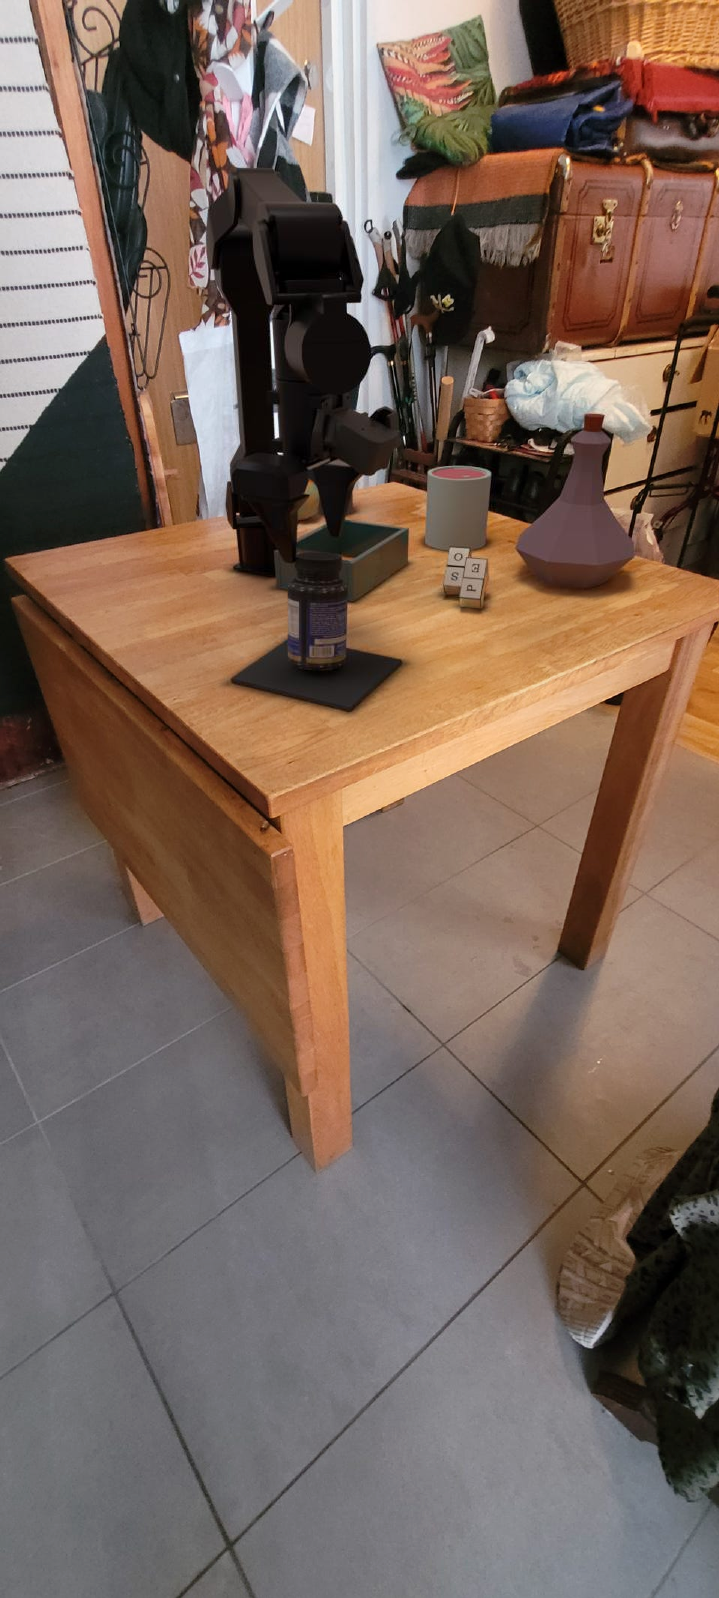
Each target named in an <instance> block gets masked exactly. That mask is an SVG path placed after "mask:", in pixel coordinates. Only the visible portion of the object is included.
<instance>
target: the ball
mask: <svg viewBox="0 0 719 1598" xmlns="http://www.w3.org/2000/svg"><path fill="white" fill-rule="evenodd" d="M303 494H309V495H310V496H309V498H308V499H307V500H306V501H305V503H304V504H303V505H302V506H301V507H300V509H299V510H298V521H304V520H307V519H309V518H311V517H312V516H314V514H315V513H316V512H317V511H318V505H319V499H320V497H319V493H318V489H317V485H316V483H315V481H313V480H312V479H310V478H309V482H308V485H307V488H306V490H305V493H303Z"/></svg>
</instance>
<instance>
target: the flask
mask: <svg viewBox="0 0 719 1598" xmlns="http://www.w3.org/2000/svg"><path fill="white" fill-rule="evenodd" d="M583 415H584V416H583V429H581V431H579V432H578V433H576V434H575V435H573V436H572V437H571V439H570V443H571V447H572V449H573V454H574V455H573V460H572V463H571V467H570V470H569V473H568V475H567V478H566V481H565V483H564V486H563V488H562V490H561V493H560V496H559V497H558V498H557V499H556V500H555V501H554V502H553V503H552V504H551V505H550V506H549V507H548V508H547V509H546V510H545V511H544V513H542V514H541V515H540V516H538V518H536V519H535V521H533V522H532V523H531V524H530V525H529V526H528V527H526V528H525V529H524V530H523V531H522V532H521V533H519V535H518V538H517V540H516V541H517V542H516V544H515V548H514V549H515V551H516V552H517V553H518V555H519V556H520V558H521V559H522V560H523V562H524V563H525V564H526V566H527V567H528V568H529V570H530V571H531V573H532V574H533V575H534V577H535V578H536V580H538V581H540V582H543V583H545V584H548V585H550V586H551V587H555V588H564V589H565V588H566V589H577V590H578V589H580V590H583V589H588V588H592V587H596V586H600V585H603V584H605V583H606V581H608V580H609V579H610V578H611V577H613V576H614V575H615V574H616V573H618V572H619V571H620V570H621V569H622V568H624V567H625V566H626V565H627V564H629V562H631V561H632V560H633V559H634V558H635V557H636V556H635V555H636V554H635V542H634V540H632V538H631V536H629V534H628V532H627V531H626V530H625V529H624V527H623V526H622V524H621V523H620V522H619V521H618V519H617V518H616V516H615V515H614V513H613V511H612V509H611V508H610V506H609V504H608V502H607V501H606V499H605V493H604V482H603V469H602V468H603V455H604V454H605V453H606V451H607V449H608V447H609V446H610V444H611V443H612V441H611V438H610V437H609V436H608V435H607V434H606V433H605V432H604V431H603V430H602V428H603V424H604V421H605V416H606V415H605V414H602V413H591V412H589V413H584V414H583Z"/></svg>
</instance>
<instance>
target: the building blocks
mask: <svg viewBox="0 0 719 1598" xmlns="http://www.w3.org/2000/svg"><path fill="white" fill-rule="evenodd" d="M489 581H490V573H489V559H488V558H485V557H473V556H472V550H471V548H467V547H453V546H450V549H449V551H448V555H447V561H446V566H445V573H444V577H443V584H442V586H443V592H444V595H447V596H458V598H459V605H460V607H461V608H470V609H471V608H472V609H483V604H484V599H486V598H487V593H488V587H489Z"/></svg>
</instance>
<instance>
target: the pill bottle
mask: <svg viewBox="0 0 719 1598" xmlns="http://www.w3.org/2000/svg"><path fill="white" fill-rule="evenodd" d="M342 560H343V557H342V555H338V554H333V553H325V552H304V553H298V554H296V558H295V565H294V566H295V569H296V570H297V577H296V578H294V579H292V580H291V581H290V583H289V585H288V590H287V639H288V661H289V663H290V664H291V665H292V666H294V667H297V668H301V669H307V670H316V671H319V670H333V669H337V668H340V667H341V666H343V665H344V664H345V662H346V648H347V639H348V638H347V637H348V636H347V633H348V632H347V631H348V603H349V601H348V587H347V585H346V583H345V582H344V581H343V580H341V579H339V572H340V571H341V569H342Z"/></svg>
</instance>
